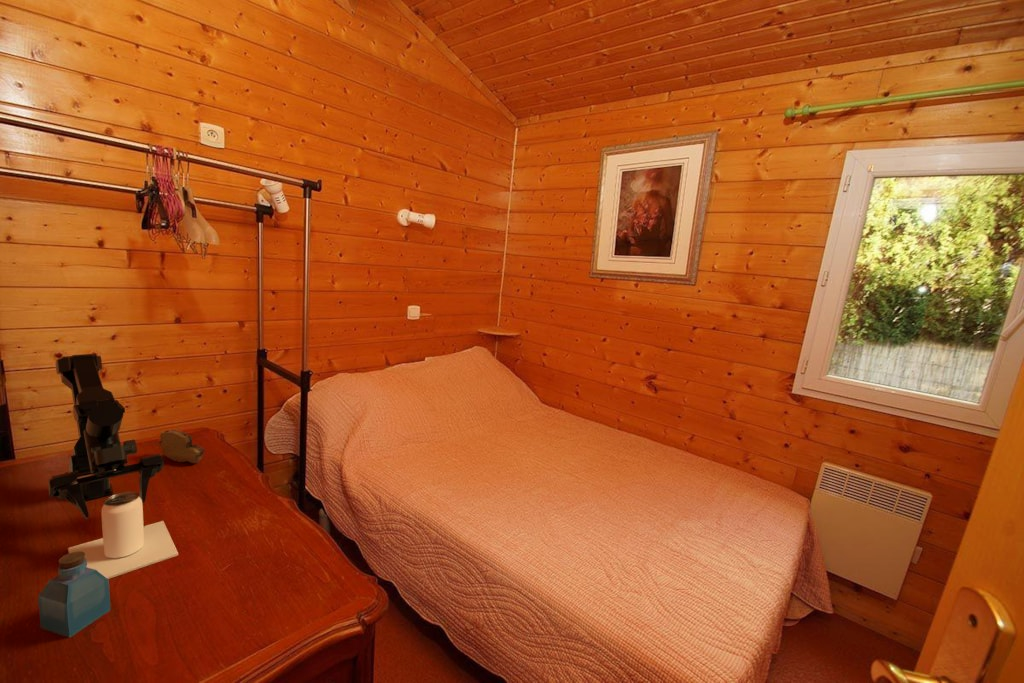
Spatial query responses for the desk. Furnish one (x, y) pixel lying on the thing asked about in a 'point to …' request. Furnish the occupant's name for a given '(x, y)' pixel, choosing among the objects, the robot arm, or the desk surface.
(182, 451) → the wooden carving
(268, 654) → the desk surface
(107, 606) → the perfume bottle
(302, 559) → the desk surface
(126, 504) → the can
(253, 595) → the desk surface
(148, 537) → the beige mat
